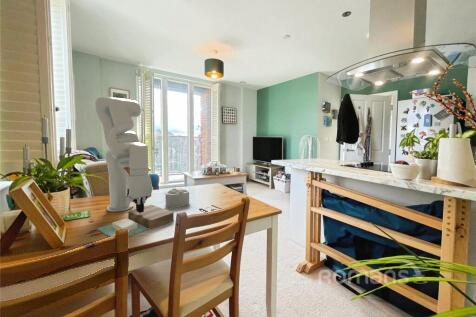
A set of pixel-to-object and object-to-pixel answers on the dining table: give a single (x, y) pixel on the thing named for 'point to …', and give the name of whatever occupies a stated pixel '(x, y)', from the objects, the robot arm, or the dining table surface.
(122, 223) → the tile
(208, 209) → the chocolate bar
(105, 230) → the mat
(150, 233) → the dining table surface
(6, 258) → the dining table surface
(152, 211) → the block
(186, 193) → the lumpy-topped squat cylinder
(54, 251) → the dining table surface
